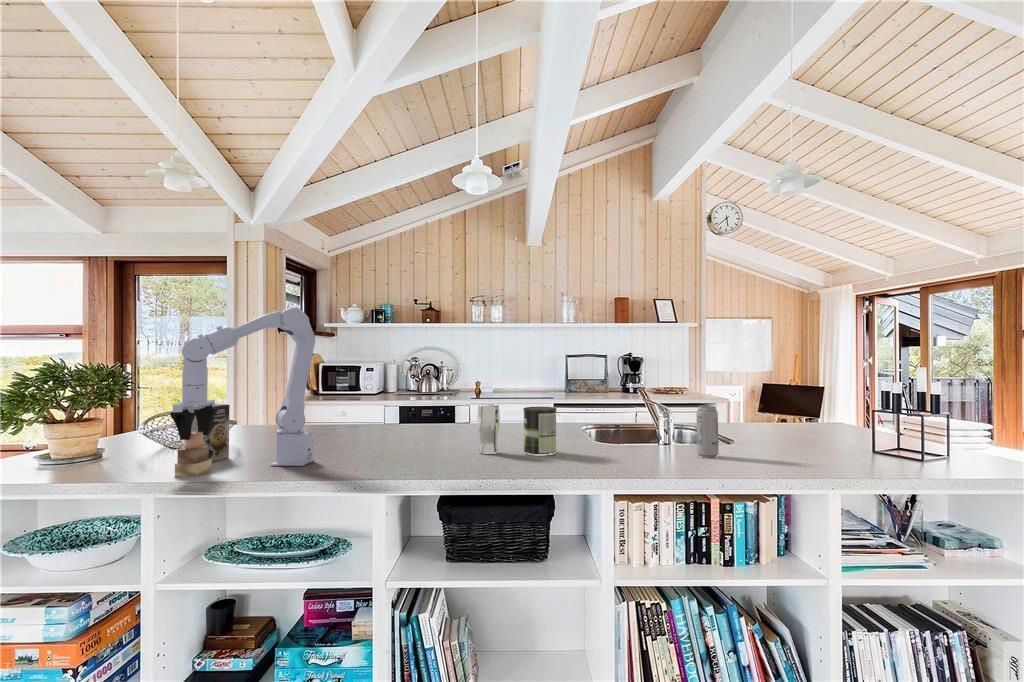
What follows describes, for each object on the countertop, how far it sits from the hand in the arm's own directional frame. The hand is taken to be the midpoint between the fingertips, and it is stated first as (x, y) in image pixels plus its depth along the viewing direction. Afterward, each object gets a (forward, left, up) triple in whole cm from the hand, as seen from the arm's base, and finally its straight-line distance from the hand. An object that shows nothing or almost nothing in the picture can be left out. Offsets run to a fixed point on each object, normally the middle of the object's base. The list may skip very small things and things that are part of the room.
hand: (194, 437), depth 142 cm
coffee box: (+7, -18, -10) cm, 22 cm away
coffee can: (-90, -32, -10) cm, 96 cm away
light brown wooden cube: (0, 0, -3) cm, 3 cm away
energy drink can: (-140, -28, -10) cm, 143 cm away
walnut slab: (0, 0, -6) cm, 6 cm away
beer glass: (-74, -32, -10) cm, 81 cm away
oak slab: (0, 0, -10) cm, 10 cm away
